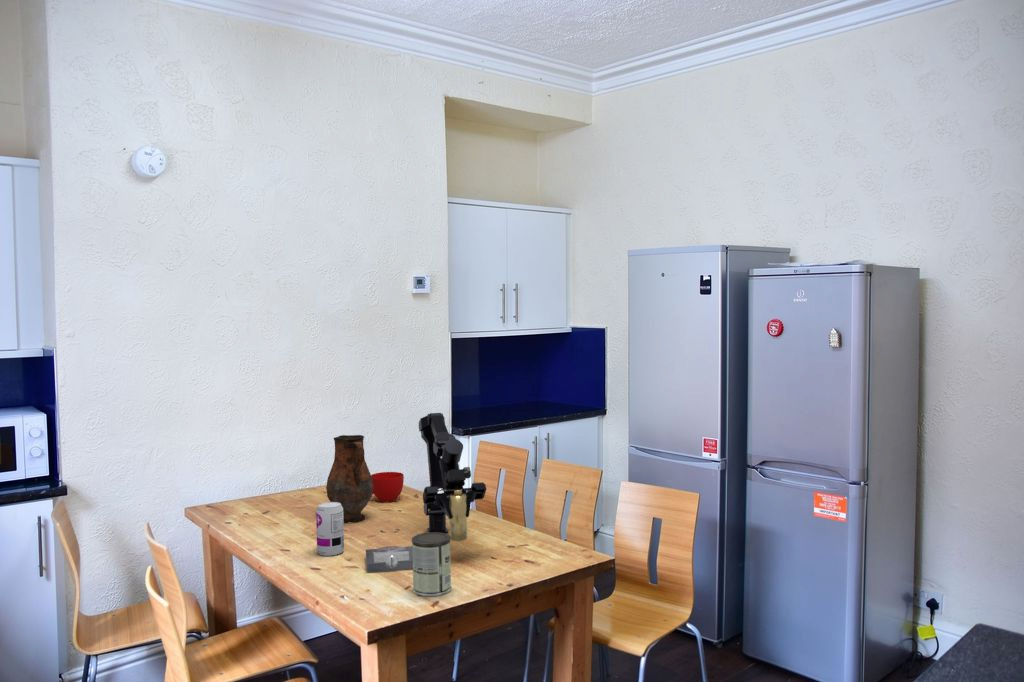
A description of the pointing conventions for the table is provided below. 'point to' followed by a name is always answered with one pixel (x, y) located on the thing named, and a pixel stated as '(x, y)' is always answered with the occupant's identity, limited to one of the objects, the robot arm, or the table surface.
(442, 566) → the coffee can
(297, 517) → the table surface
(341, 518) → the supplement can
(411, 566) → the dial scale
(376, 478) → the ceramic cup
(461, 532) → the brass weight
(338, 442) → the pitcher
